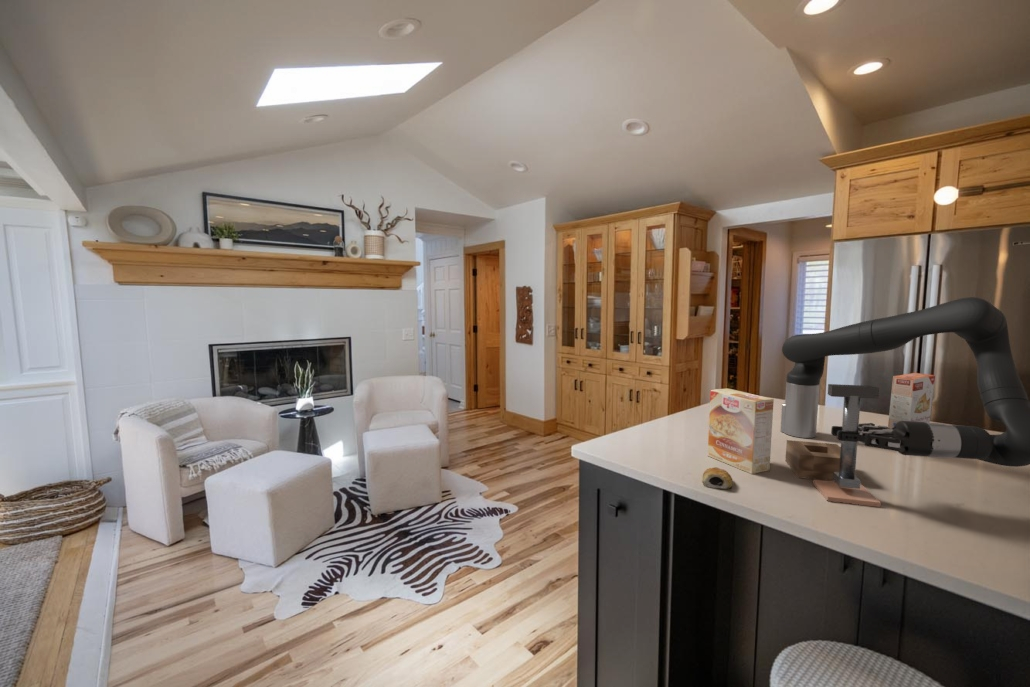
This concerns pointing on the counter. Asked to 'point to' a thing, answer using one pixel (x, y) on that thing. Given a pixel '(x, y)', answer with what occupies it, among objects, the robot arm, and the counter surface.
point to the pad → (846, 494)
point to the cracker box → (911, 398)
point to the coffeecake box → (740, 429)
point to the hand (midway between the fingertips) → (835, 433)
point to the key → (850, 429)
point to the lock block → (813, 459)
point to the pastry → (717, 478)
